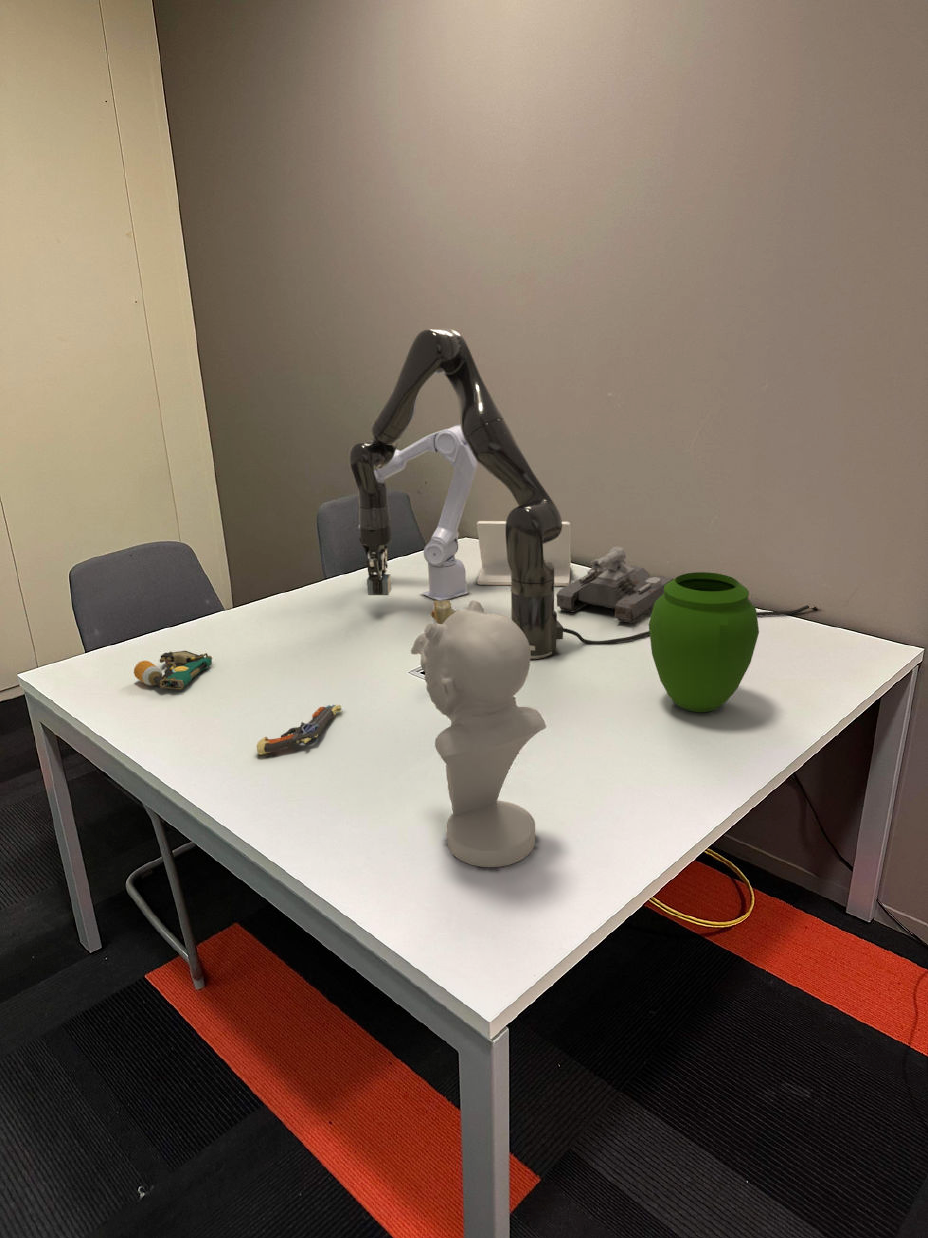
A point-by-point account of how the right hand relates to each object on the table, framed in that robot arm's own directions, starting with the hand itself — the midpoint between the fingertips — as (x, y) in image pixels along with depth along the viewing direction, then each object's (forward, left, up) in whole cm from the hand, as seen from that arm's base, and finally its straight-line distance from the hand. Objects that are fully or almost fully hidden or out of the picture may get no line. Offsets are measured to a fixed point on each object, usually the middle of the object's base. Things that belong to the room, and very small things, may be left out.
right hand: (379, 590), depth 212 cm
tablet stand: (-42, -19, -6) cm, 47 cm away
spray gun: (+46, +27, -6) cm, 54 cm away
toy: (-58, +11, -6) cm, 59 cm away
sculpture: (-9, +39, -6) cm, 41 cm away
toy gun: (+21, +60, -6) cm, 64 cm away
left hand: (-1, -19, +3) cm, 19 cm away
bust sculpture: (-2, +97, -6) cm, 97 cm away
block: (0, 0, 0) cm, 0 cm away
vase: (-53, +67, -6) cm, 85 cm away
